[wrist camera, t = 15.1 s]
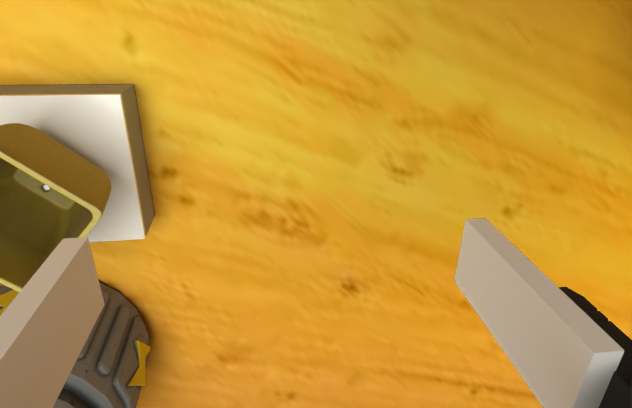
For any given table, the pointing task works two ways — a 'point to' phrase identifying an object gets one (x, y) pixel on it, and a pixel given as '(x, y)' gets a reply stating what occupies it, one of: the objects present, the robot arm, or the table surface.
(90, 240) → the plinth
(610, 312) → the table surface
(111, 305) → the decorative lamp
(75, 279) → the robot arm
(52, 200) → the flower pot
